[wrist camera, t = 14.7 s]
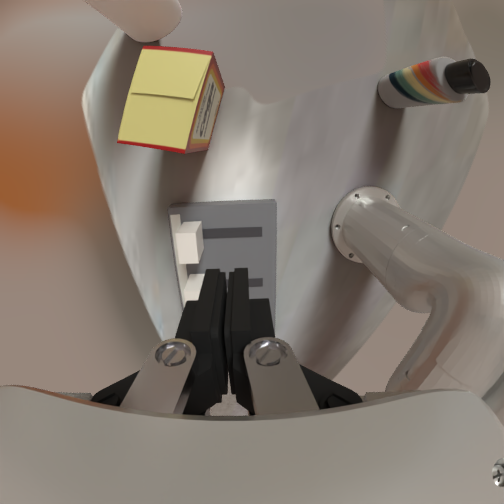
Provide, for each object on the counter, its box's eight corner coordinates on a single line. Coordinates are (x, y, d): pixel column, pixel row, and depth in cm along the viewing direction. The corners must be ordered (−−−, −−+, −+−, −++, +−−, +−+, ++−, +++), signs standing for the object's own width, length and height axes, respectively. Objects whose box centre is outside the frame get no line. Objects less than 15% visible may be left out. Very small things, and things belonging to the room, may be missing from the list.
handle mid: (206, 273, 40) (202, 291, 35) (209, 296, 41) (205, 315, 36) (189, 274, 40) (183, 291, 35) (193, 297, 41) (188, 315, 36)
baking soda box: (207, 149, 36) (183, 153, 21) (164, 141, 35) (115, 143, 20) (224, 87, 32) (212, 50, 17) (180, 79, 31) (142, 44, 17)
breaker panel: (274, 199, 39) (276, 203, 36) (273, 332, 48) (274, 341, 46) (171, 204, 38) (167, 208, 36) (191, 334, 48) (189, 343, 45)
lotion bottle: (400, 75, 31) (488, 53, 12) (410, 107, 33) (502, 102, 15) (372, 76, 31) (457, 45, 13) (382, 110, 33) (474, 101, 15)
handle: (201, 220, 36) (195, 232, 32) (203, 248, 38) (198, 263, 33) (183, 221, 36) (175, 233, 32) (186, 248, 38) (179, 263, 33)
